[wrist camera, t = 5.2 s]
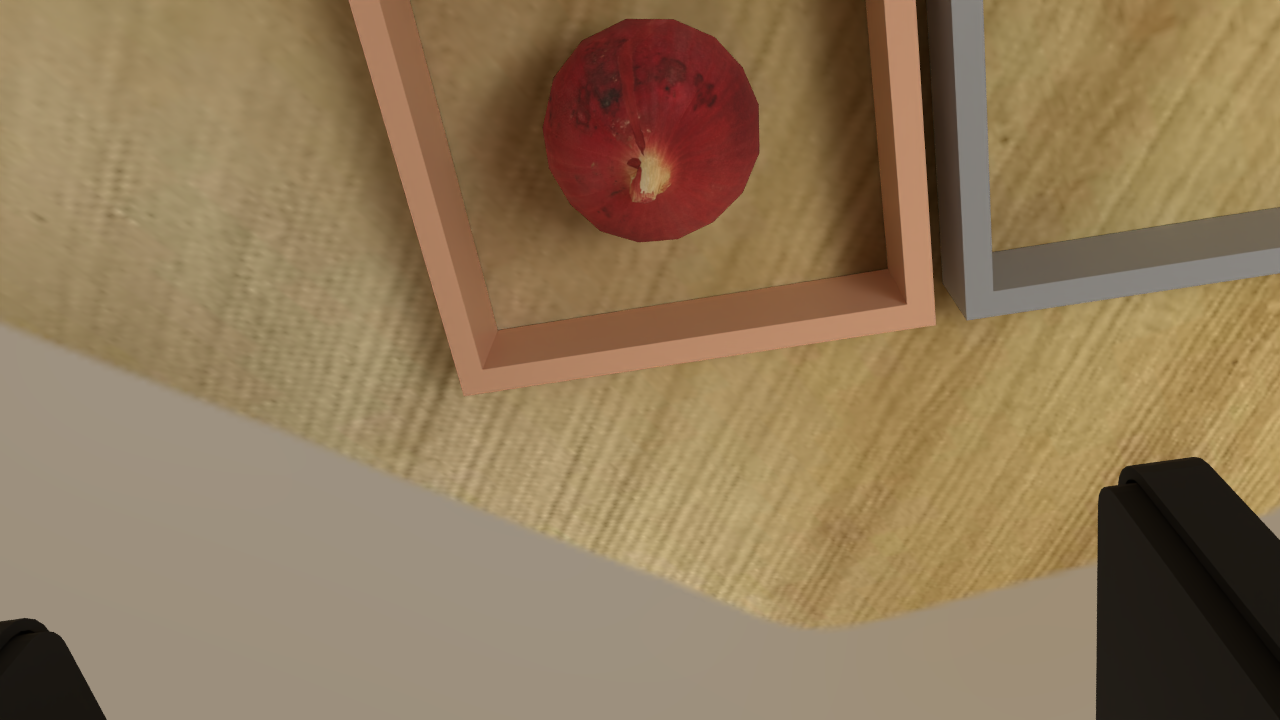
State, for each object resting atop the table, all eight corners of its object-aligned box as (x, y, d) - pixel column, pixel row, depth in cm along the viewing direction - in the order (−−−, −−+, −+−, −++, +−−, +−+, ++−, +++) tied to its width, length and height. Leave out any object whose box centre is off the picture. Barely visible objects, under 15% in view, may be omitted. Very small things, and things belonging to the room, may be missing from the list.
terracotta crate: (877, -221, 27) (901, -232, 24) (914, 288, 33) (936, 325, 30) (351, -111, 28) (316, -109, 25) (480, 355, 34) (464, 396, 32)
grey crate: (1510, -353, 25) (1611, -381, 22) (1422, 209, 31) (1494, 241, 28) (912, -228, 26) (939, -240, 24) (942, 283, 33) (966, 320, 30)
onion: (524, 58, 30) (476, 116, 23) (699, -34, 29) (707, -4, 22) (613, 226, 32) (594, 328, 25) (780, 147, 31) (811, 230, 24)
